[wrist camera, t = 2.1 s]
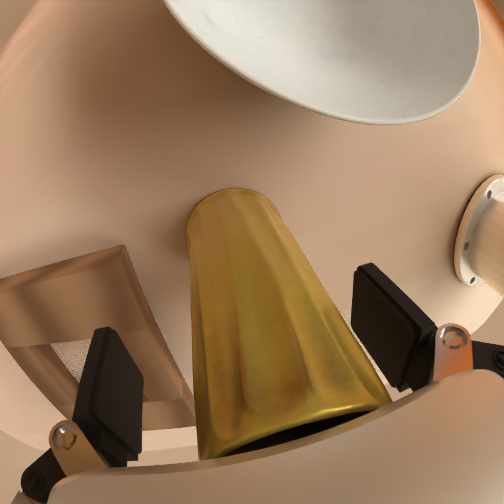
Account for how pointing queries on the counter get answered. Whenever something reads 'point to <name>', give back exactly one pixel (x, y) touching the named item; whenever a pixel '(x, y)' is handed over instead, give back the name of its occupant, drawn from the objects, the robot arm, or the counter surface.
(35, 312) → the vase stand
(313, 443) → the robot arm
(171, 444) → the counter surface
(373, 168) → the counter surface
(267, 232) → the vase
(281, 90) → the chinaware
